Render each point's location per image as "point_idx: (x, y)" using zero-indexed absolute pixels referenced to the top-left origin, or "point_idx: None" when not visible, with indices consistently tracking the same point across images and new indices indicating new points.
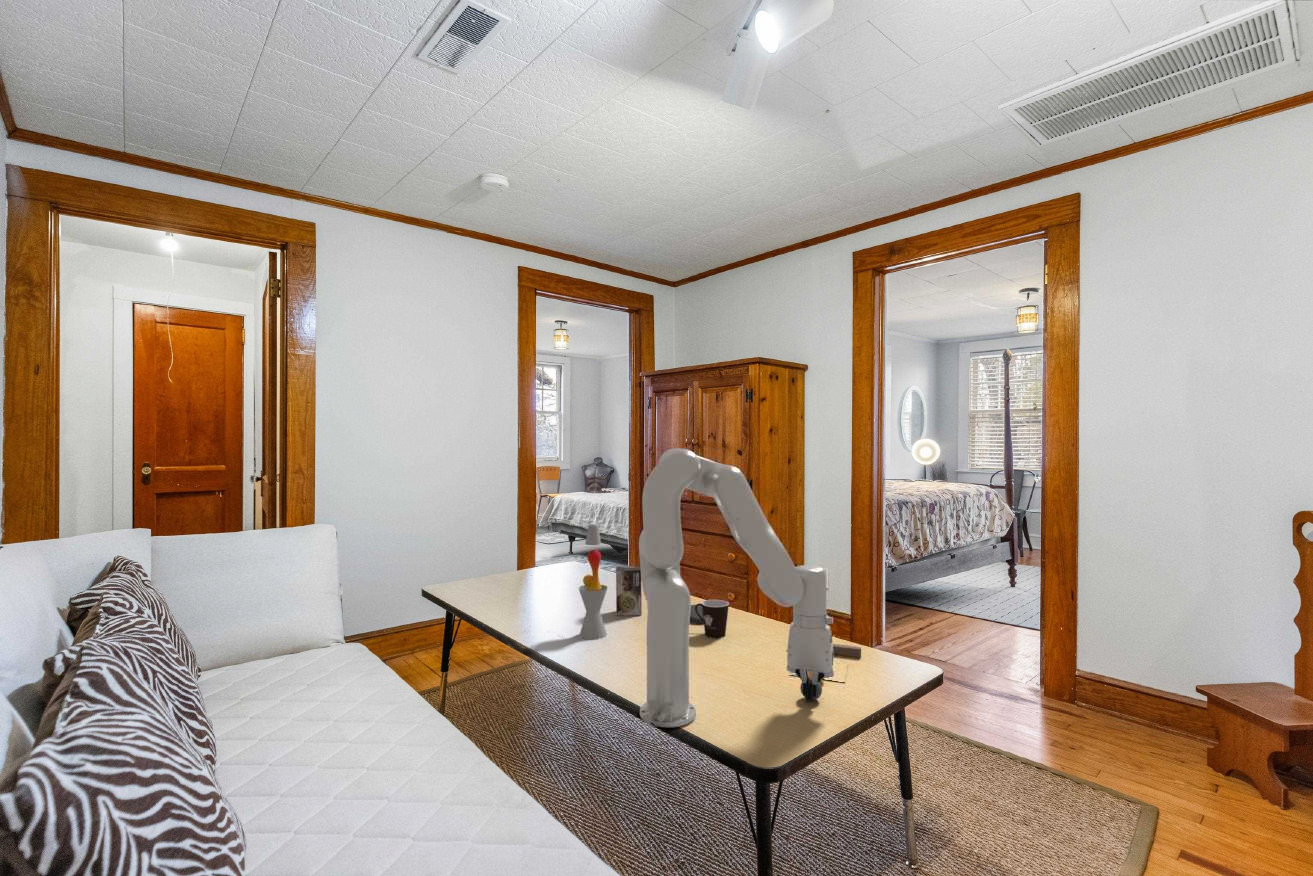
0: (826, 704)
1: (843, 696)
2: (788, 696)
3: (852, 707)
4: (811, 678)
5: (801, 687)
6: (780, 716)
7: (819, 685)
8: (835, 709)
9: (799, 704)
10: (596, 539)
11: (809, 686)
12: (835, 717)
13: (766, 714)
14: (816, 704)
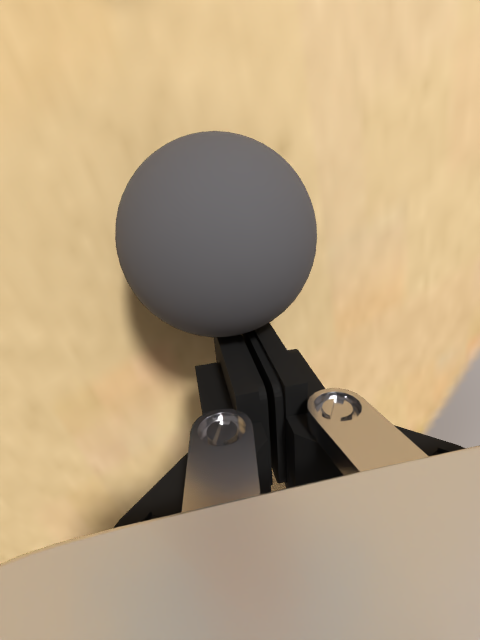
0: (317, 248)
1: (421, 25)
2: (33, 257)
3: (468, 207)
4: (239, 265)
5: (146, 307)
6: (125, 513)
7: (312, 265)
8: (373, 290)
9: (160, 339)
10: None
11: (276, 477)
12: (378, 380)
13: (51, 534)
14: None
